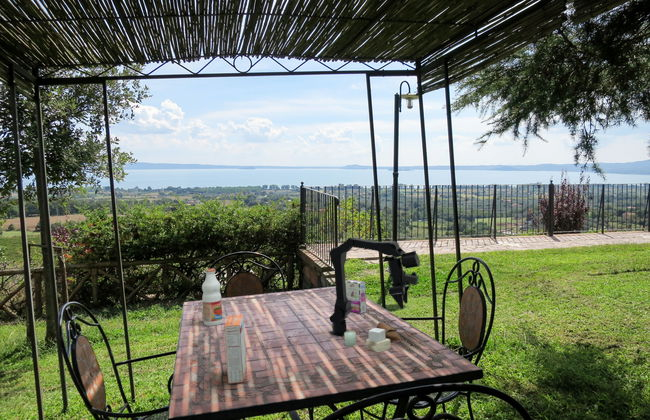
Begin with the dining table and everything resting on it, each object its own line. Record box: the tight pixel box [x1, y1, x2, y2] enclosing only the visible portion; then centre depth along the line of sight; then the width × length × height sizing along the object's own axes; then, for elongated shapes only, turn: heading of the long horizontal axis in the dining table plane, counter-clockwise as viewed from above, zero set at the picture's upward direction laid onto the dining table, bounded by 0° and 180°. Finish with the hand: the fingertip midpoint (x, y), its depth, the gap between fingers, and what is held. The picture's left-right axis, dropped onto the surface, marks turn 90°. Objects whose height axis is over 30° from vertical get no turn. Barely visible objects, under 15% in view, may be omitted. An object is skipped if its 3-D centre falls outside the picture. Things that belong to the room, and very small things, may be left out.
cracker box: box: [223, 314, 248, 385], centre depth 174 cm, size 14×6×21 cm, turn 5°
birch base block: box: [365, 338, 392, 353], centre depth 197 cm, size 7×7×4 cm
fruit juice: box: [201, 267, 223, 327], centre depth 244 cm, size 9×9×28 cm
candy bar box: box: [345, 279, 367, 315], centre depth 255 cm, size 11×5×16 cm, turn 41°
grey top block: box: [367, 327, 386, 342], centre depth 197 cm, size 5×5×4 cm
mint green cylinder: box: [344, 330, 357, 347], centre depth 204 cm, size 5×5×5 cm
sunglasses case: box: [376, 322, 403, 342], centre depth 214 cm, size 18×7×7 cm
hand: (404, 305), depth 206 cm, fingers open, 9 cm apart
